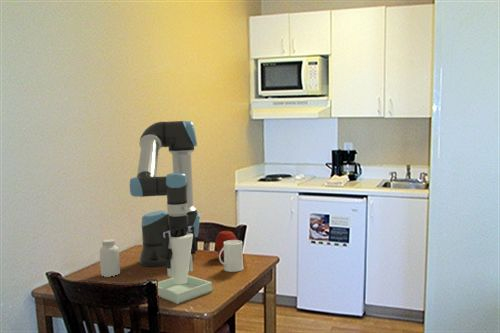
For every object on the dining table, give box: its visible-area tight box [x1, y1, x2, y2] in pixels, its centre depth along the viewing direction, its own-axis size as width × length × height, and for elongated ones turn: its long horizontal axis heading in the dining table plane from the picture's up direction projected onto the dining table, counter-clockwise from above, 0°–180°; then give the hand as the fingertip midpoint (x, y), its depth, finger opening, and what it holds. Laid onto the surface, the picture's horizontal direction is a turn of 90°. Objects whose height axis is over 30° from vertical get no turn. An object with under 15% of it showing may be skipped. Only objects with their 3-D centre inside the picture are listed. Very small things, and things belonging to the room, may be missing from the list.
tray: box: [157, 274, 213, 305], centre depth 193 cm, size 17×17×4 cm
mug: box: [218, 239, 245, 273], centre depth 219 cm, size 12×8×12 cm
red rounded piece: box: [215, 228, 238, 259], centre depth 238 cm, size 10×10×14 cm
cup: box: [168, 232, 193, 284], centre depth 192 cm, size 11×11×18 cm
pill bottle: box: [99, 238, 121, 278], centre depth 218 cm, size 8×8×15 cm
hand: (180, 273), depth 192 cm, fingers closed on cup, 8 cm apart
